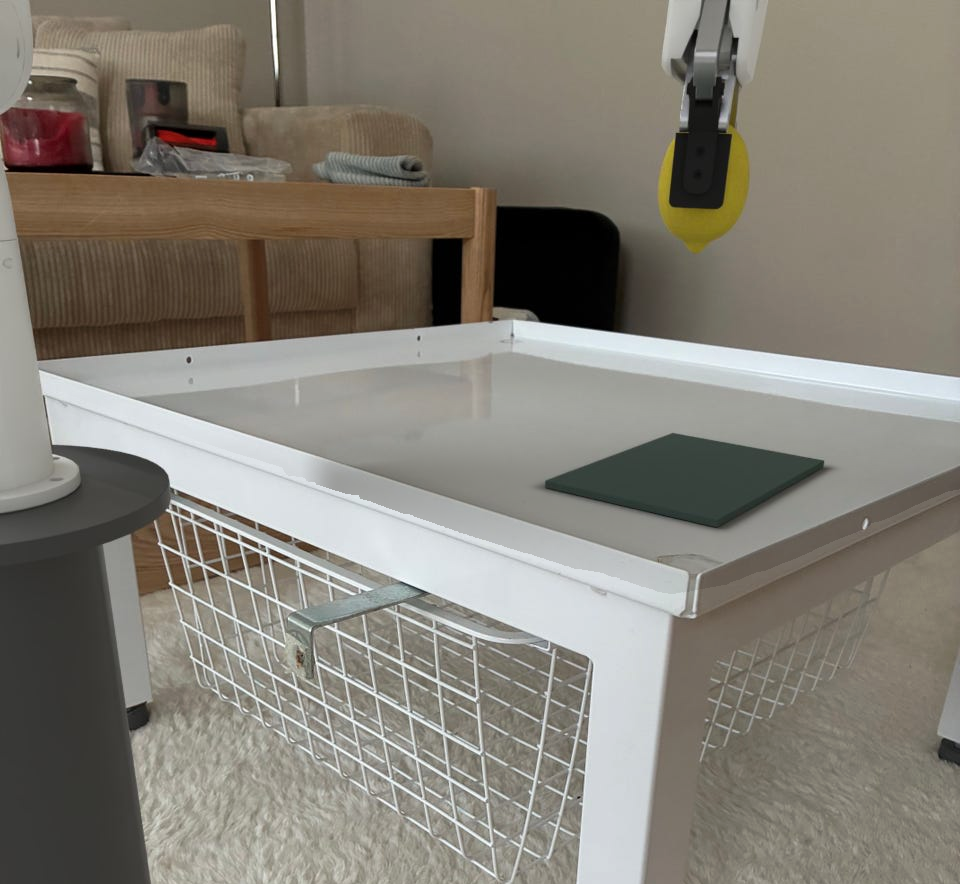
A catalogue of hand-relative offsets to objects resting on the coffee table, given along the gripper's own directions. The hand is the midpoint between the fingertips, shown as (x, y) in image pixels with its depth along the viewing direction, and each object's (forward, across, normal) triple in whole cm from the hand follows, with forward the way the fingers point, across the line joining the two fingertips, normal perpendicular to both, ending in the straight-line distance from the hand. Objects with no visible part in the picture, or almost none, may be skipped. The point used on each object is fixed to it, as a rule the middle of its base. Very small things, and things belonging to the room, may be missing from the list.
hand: (700, 204), depth 62 cm
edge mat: (+17, +2, +2) cm, 17 cm away
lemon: (+3, 0, 0) cm, 3 cm away
